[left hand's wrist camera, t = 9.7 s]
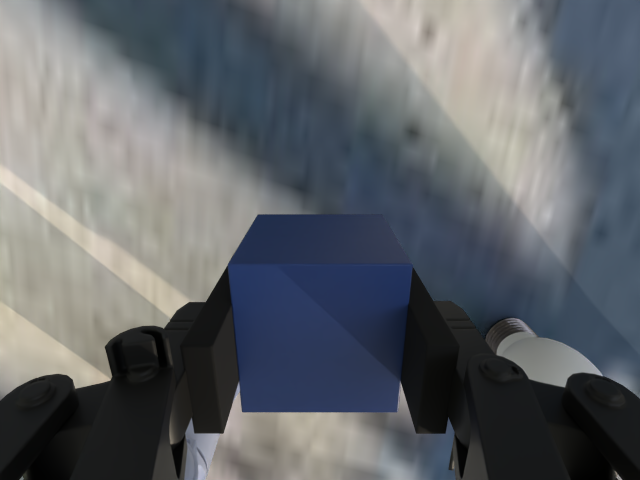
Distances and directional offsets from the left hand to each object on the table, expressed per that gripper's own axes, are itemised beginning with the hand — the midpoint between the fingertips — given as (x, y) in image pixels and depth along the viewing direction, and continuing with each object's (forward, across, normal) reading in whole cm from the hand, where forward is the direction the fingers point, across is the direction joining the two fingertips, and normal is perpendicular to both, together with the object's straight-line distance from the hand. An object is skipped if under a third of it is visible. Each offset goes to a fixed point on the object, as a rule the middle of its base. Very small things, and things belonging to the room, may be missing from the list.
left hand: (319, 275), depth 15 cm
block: (0, 0, 0) cm, 0 cm away
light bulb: (+14, -17, +13) cm, 26 cm away
